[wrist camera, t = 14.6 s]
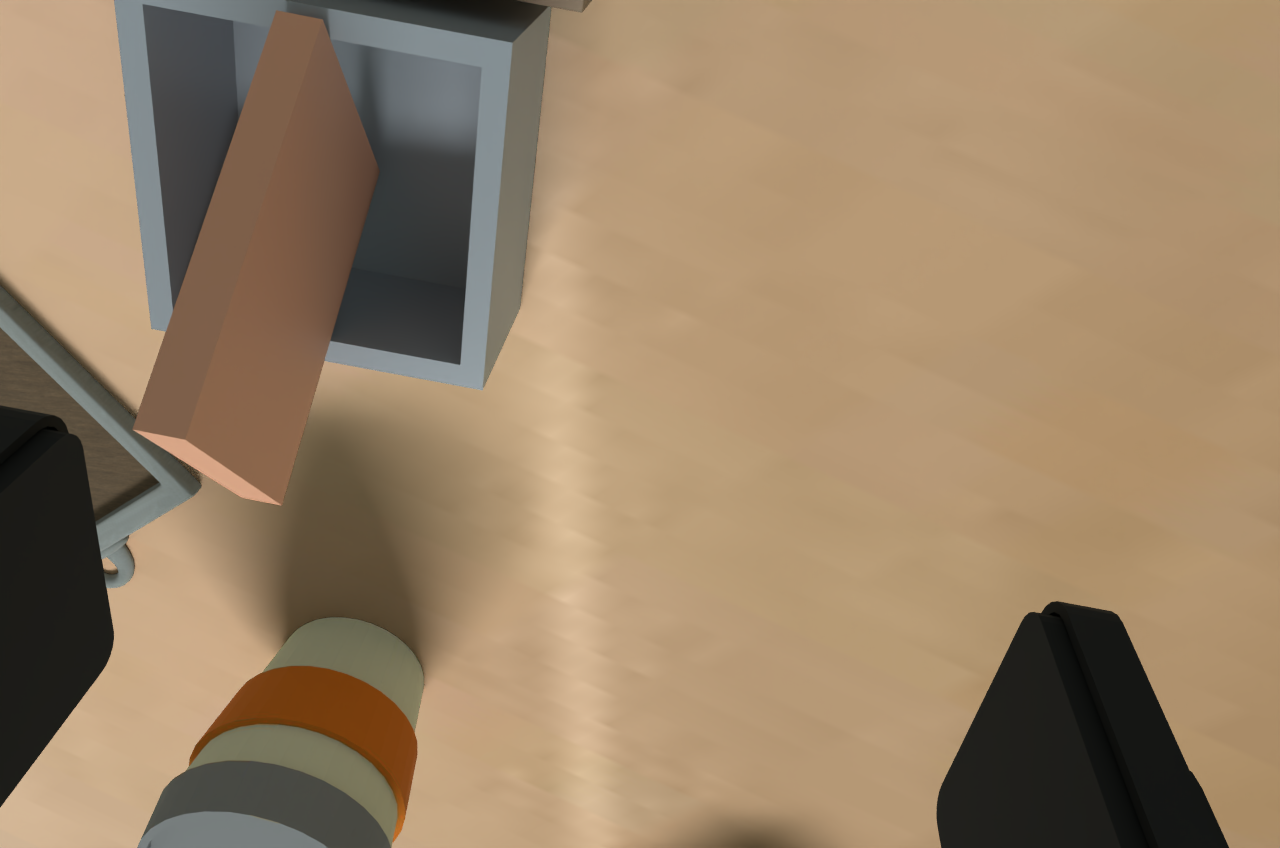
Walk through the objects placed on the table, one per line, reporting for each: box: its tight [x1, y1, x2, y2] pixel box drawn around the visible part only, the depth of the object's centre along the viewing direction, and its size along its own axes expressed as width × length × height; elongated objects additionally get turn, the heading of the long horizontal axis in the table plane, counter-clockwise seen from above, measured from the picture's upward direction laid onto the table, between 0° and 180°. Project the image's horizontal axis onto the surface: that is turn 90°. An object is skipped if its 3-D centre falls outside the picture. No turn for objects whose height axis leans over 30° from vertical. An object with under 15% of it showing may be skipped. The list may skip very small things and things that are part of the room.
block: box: [132, 10, 380, 506], centre depth 37 cm, size 2×10×15 cm
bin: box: [114, 0, 551, 390], centre depth 42 cm, size 14×14×8 cm
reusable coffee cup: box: [137, 617, 424, 848], centre depth 57 cm, size 13×12×15 cm
